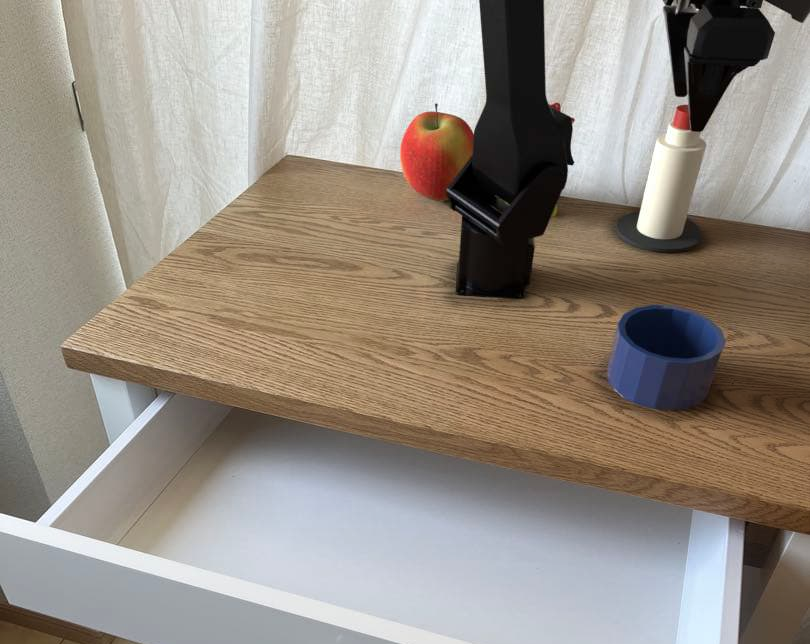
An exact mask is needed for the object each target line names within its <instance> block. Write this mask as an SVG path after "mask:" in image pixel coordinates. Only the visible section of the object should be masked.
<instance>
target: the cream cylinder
mask: <svg viewBox="0 0 810 644" xmlns="http://www.w3.org/2000/svg"><path fill="white" fill-rule="evenodd" d="M701 136H702V132H692V131H691V129H690V121H689V109H688V104H680V105H677V107H675V111H674V116H673V120H671V121H670V122H669V123H668V126H667V131H666V133H662V134H660V135H658V136H657V138H656V141H655V146H654V149H653V154H652V157H651V161H650V166H649V167H650V168H649V171H648V176H647V180H646V183H645V188H644V192H643V196H642V202H641V205H640V209H639V211H640V214H639V218H638V222H637V229H638V231H639V232H641V233H642V234H644V235H646V236H648V237H651V238H655V239H665V240H666V239H674V238H677V237H679V236H680V235H681V234H682V232H683V229H684V225H685V221H686V219H688V218H687V217H688V214H689V210H690V207H691V203H692V200H693V196H694V192H695V189H696V185H697V181H698V177H699V175H700V171H701V167H702V163H703V159H704V156H705V152H706V149H707V142H706V141H705V140H704V139H703V138H701Z"/></svg>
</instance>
